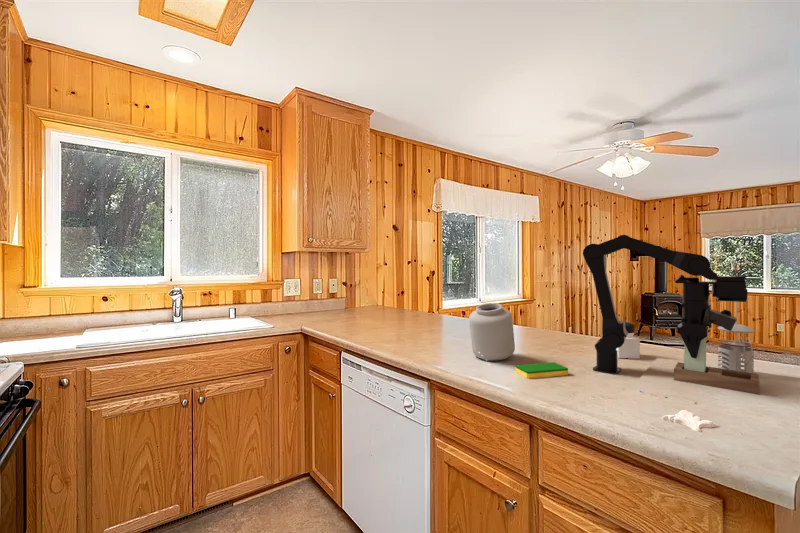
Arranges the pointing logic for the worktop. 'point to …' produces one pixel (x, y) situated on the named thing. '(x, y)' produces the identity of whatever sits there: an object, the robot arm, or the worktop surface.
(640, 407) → the worktop surface
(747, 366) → the french press
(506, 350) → the jar
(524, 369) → the dish sponge
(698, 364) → the green block
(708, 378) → the pocket holder
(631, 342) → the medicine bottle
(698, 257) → the robot arm
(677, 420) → the acanthus leaf ornament
